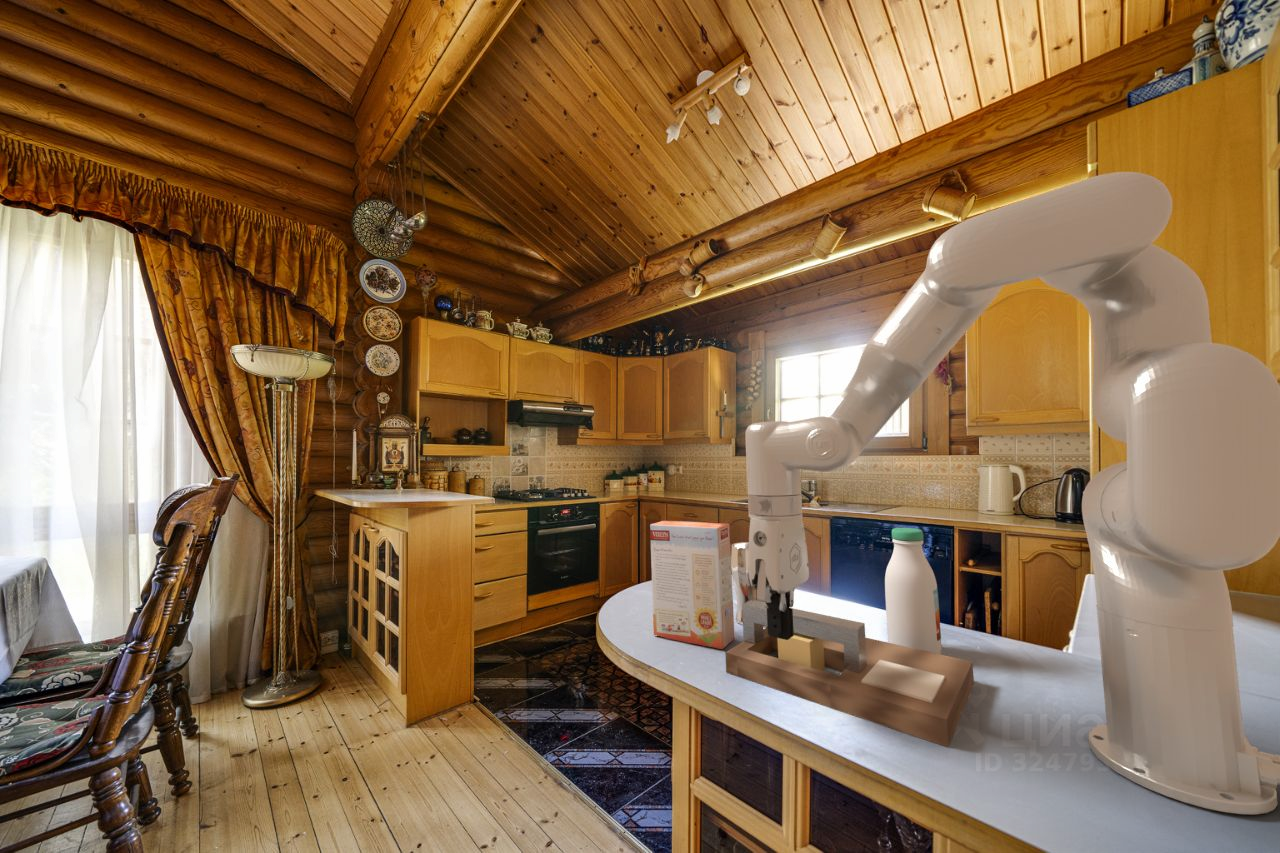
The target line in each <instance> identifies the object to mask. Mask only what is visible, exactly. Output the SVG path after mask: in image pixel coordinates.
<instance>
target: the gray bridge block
mask: <svg viewBox="0 0 1280 853" xmlns="http://www.w3.org/2000/svg"><path fill="white" fill-rule="evenodd" d="M742 612H743V625H742V631H743V641H747V642H750V643H754V644H755V643H757V642H758V641H760V640H761V639H763V638H764V631H763V629H764V626H765V627H767V608H765V603H764V602H759V601H755V600H750V601H748V602H746V603H744V604H742ZM865 625H866V623H864V622H859V621H856V620H851V619H845V618H841V617H835V616H831V615H825V614H822V613H817V612H813V611H812V612H811V611H807V610H802V609H797V608H793V629H794V633H798V634H803V635H807V636H811V637H815V638H819V639H823V640H827V641H831V642H836V643H840V644H844V662H845V669H848V670H852V671H855V672H859V673H860V672H861V671H862V670H863V669H864V668H865V667H866V666H867V658H866V640H865V638H866V626H865Z"/></svg>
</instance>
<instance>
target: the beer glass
mask: <svg viewBox="0 0 1280 853" xmlns="http://www.w3.org/2000/svg"><path fill="white" fill-rule="evenodd" d="M731 572H732V583H733V587H734V590H735V591H734V592H735V595H736V596H735V597H736V614H735V622H736V623H737V624H739V625H741V626H743V612H742V604H744V603H746V602H748V601H750V600H755V601H757V589H754V588H753V587H752V586H751V583H750V577H749V541H748V542H747V541H744V542H736V543H732V544H731ZM759 602H761V601H759Z"/></svg>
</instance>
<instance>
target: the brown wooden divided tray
mask: <svg viewBox="0 0 1280 853" xmlns="http://www.w3.org/2000/svg"><path fill="white" fill-rule="evenodd" d="M763 631H764V638H763V639H761V640H760V641H758V642H757V643H755V644H754V643H750V642H747V641H744V640H743V641H742V642H740V643H738V644H737V645H735V646H734V647H732V648H730V649H729V650H727V651H725V672H727V674H729V673H730V675H733V676H735V675H736V677H738V678H741V679H745V680H747V681H749V682H750V681H751V682H754V683H757V684H759V685H762V686H765V687H768V688H771V689H774V690H778V691H780V692H783V693H786V694H788V695H792V696H795V697H798V698H801V699H804V700H806V701H810V702H813V703H816V704H819V705H822V706H825V707H827V708H830V709H834V710H837V711H839V712H842V713H845V714H848V715H851V716H854V717H857V718H860V719H864V720H867V721H870V722H872V723H875V724H878V725H881V726H883V727H887V728H890V729H893V730H895V731H899V732H902V733H904V734H907V735H911V736H913V737H917V738H919V739H923V740H926V741H929V742H931V743H935V744H937V745H941V746H943V747H946V748H949V746H950V744H951V741H952V740H953V736H954V733H955V731H956V729H957V727H958V725H959V722H960V719H961V717H962V715H963V712H964V709H965V707H966V704H967V702H968V700H969V697H970V695H971V691H972V690H973V687H974V685H975V681H974V680H975V679H974V665H973V663H974V662H973V661H971V660H966V659H962V658H958V657H954V656H948V655H944V654H941V655H940V654H936V653H932V652H927V651H923V650H918V649H914V648H910V647H905V646H901V645H896V644H892V643H888V641H887V642H886V641H883V640H879V639H878V640H877V639H875V638H874V639H873V638H870V637H869V638H868V637H865V640H866V658H867V666H866V667H865V668H864V669H863V670H862V671H861V672H860V673H859V672H855V671H852V670H848V669H845V662H844V644H840V643H836V642H831V641H827V640H823V644H824V664H825V669H830V670H832V671H836V672H840V673H839V675H837V674H833V673H830V672H827V671H825V672H823V671H820V670H816V669H813V668H809V667H806V666H802V665H799V664H795V663H792V662H789V661H785V660H782V659H778V657H774V656H772V655H770V654H775V655H778V638H776V637H773V636H770V635H769V634H768V627H767V626H766V627H765V628H763Z"/></svg>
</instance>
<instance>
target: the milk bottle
mask: <svg viewBox="0 0 1280 853" xmlns="http://www.w3.org/2000/svg"><path fill="white" fill-rule="evenodd" d="M891 539H892V543H893V551H892V555H891V558H890V559H889V562H888V564H887V566H886V570H885V574H884V575H885V576H884V592H885V593H884V598H885V613H886V628H887V629H886V630H887V632H886V633H887V643H892V644H896V645H901V646H905V647H910V648H914V649H918V650H923V651H927V652H932V653H936V654H940V655H942V636H941V635H942V634H941V633H942V632H941V621H940V620H941V618H940V604H939V592H938V584H937V579H936V576H935V573H934V571H933V570H934V569H932V567H931V565H930V563H929V561H928V559H927V558H926V555H925V552H924V549H923V544H924V532H923V530H922V529H918V528H914V527H913V528H912V527H895V528H892V529H891Z"/></svg>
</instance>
